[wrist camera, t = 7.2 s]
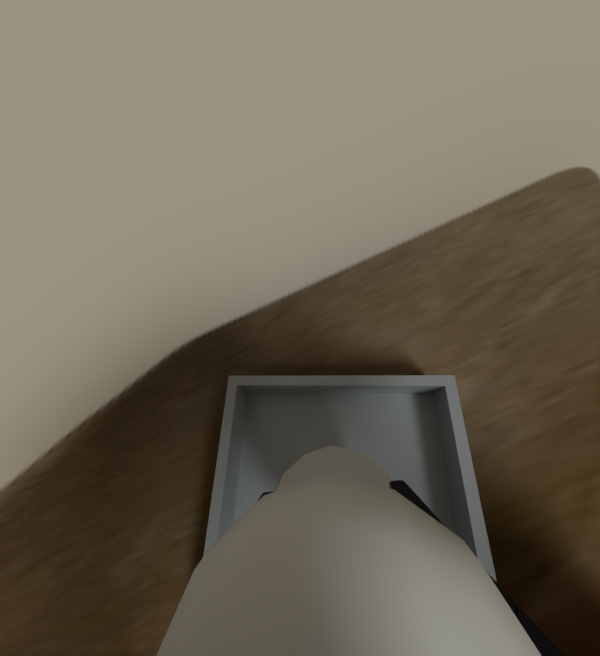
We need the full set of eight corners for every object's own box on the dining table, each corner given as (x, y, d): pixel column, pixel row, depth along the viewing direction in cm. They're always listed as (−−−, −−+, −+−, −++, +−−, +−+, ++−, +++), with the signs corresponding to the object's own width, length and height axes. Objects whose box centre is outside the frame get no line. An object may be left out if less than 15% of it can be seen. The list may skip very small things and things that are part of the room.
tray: (487, 673, 13) (527, 732, 10) (214, 639, 14) (185, 681, 12) (437, 387, 18) (454, 375, 15) (243, 386, 20) (228, 375, 17)
